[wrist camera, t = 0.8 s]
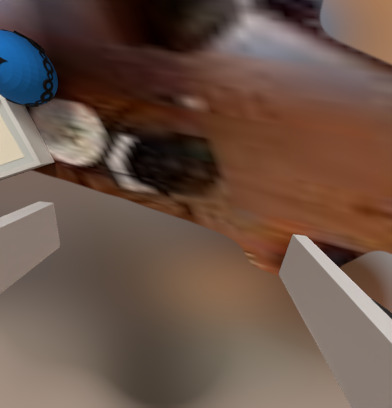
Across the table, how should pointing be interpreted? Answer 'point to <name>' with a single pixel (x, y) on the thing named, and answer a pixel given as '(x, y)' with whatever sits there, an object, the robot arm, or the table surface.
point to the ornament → (25, 71)
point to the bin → (19, 141)
